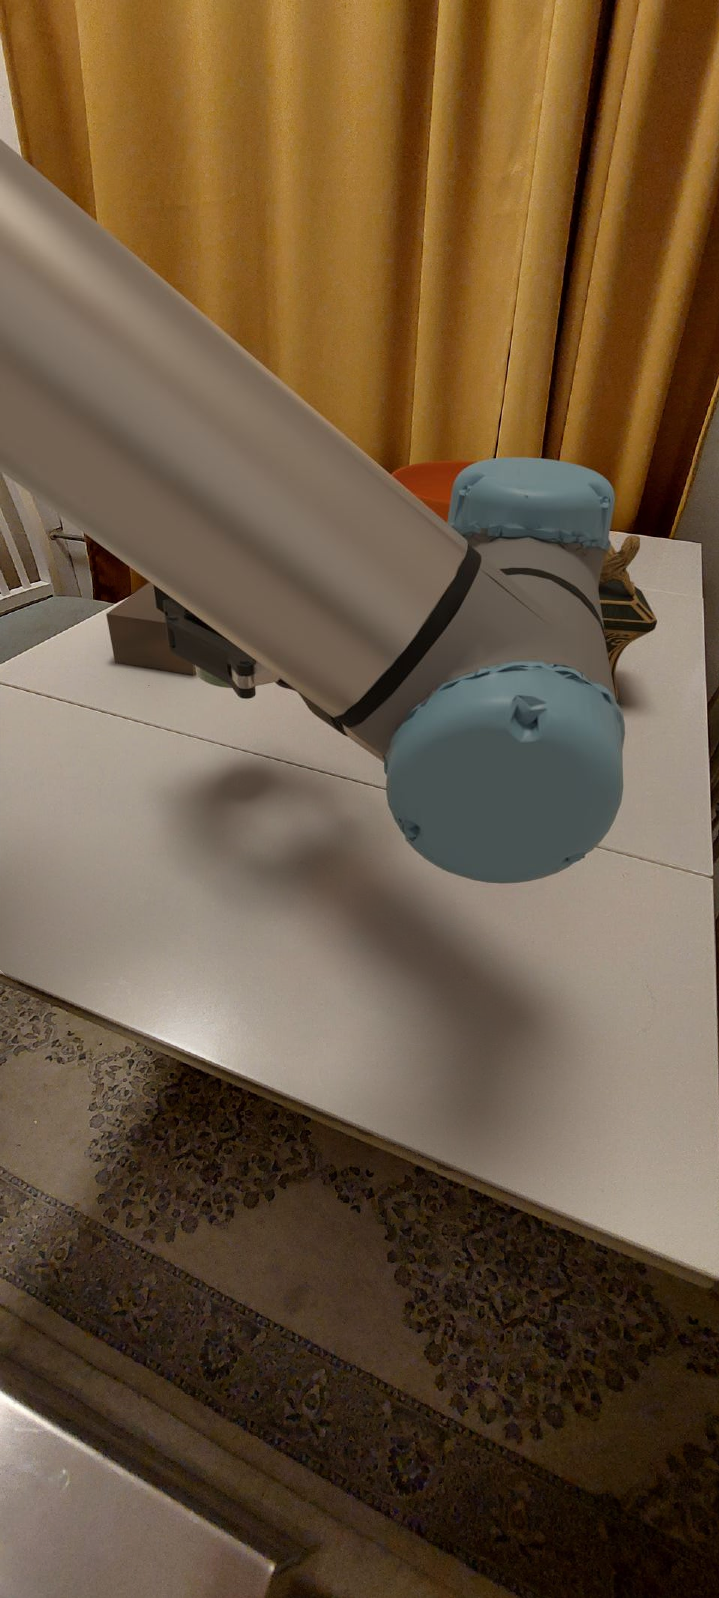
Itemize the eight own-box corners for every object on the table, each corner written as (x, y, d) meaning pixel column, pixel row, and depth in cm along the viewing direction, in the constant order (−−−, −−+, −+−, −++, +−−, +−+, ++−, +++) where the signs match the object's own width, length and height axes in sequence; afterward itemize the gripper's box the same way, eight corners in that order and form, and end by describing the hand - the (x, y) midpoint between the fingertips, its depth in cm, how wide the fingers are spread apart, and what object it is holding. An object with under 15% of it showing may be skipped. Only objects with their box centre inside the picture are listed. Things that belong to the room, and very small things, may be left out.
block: (114, 662, 88) (105, 613, 85) (155, 627, 96) (148, 581, 92) (193, 675, 86) (188, 626, 83) (228, 639, 94) (225, 592, 91)
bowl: (530, 524, 134) (540, 464, 128) (549, 576, 114) (562, 508, 108) (389, 517, 135) (392, 457, 129) (383, 567, 115) (386, 499, 109)
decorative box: (618, 668, 91) (663, 498, 79) (634, 709, 83) (686, 527, 71) (451, 657, 92) (470, 487, 80) (451, 696, 84) (473, 515, 72)
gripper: (252, 791, 46) (94, 653, 60) (479, 695, 57) (300, 596, 71) (245, 682, 42) (76, 560, 56) (492, 600, 52) (298, 514, 66)
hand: (201, 580), depth 63 cm, fingers closed on cup, 7 cm apart
